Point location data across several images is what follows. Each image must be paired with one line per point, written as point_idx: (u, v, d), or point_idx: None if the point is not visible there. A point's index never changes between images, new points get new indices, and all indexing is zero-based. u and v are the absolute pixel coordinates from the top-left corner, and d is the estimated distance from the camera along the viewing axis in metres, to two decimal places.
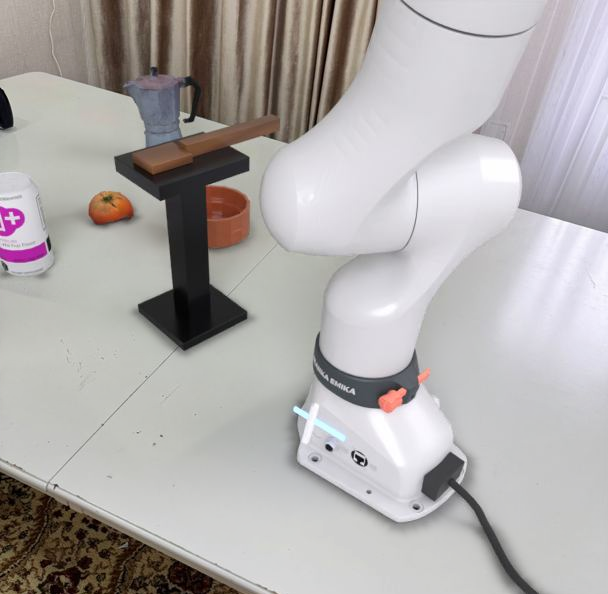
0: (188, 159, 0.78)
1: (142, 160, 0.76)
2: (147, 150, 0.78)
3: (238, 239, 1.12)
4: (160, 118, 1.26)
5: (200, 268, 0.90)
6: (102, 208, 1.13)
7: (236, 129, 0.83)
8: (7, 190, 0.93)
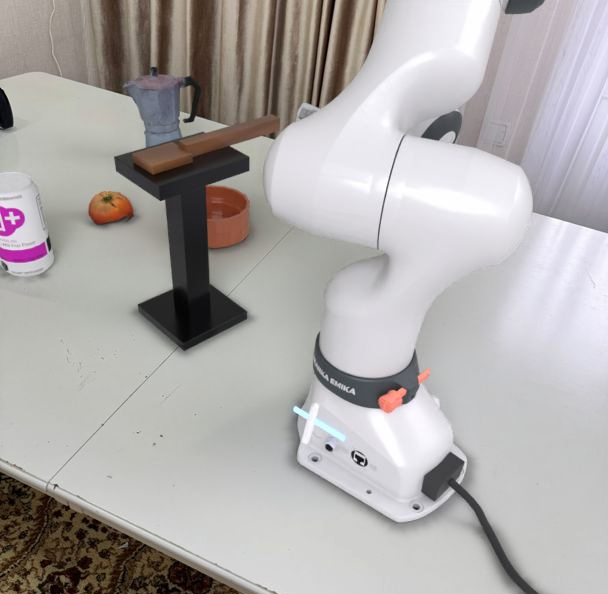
0: (188, 159, 0.78)
1: (142, 160, 0.76)
2: (147, 150, 0.78)
3: (238, 239, 1.12)
4: (160, 118, 1.26)
5: (200, 268, 0.90)
6: (102, 208, 1.13)
7: (236, 129, 0.83)
8: (7, 190, 0.93)
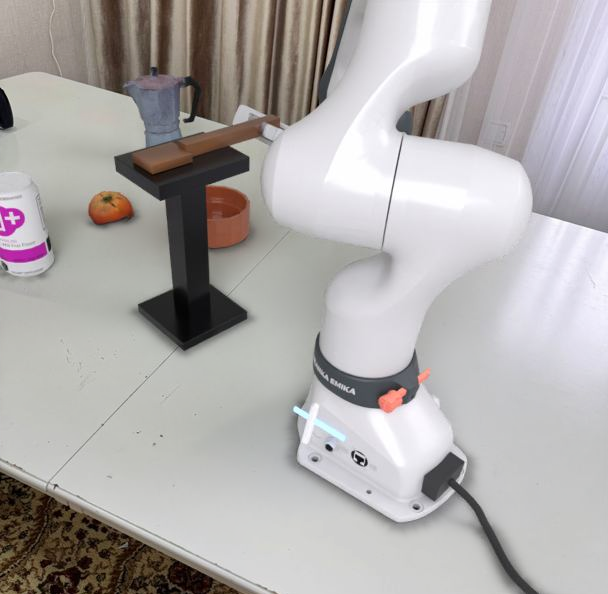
0: (187, 158, 0.78)
1: (142, 160, 0.76)
2: (147, 150, 0.78)
3: (238, 239, 1.12)
4: (160, 118, 1.26)
5: (200, 268, 0.90)
6: (102, 208, 1.13)
7: (236, 129, 0.83)
8: (7, 190, 0.93)
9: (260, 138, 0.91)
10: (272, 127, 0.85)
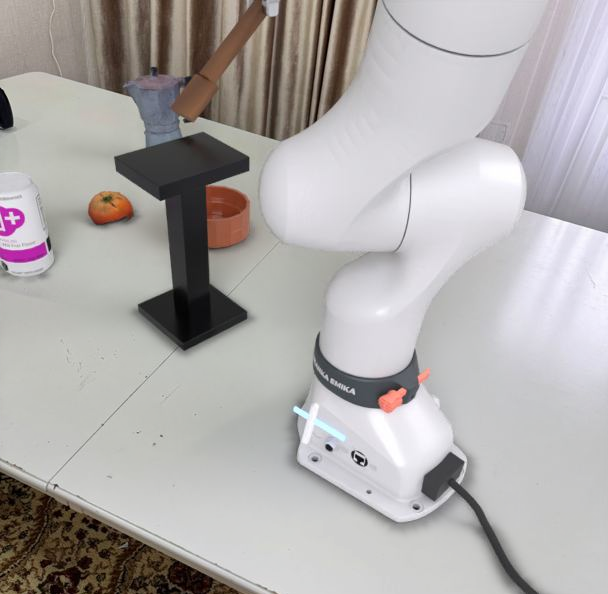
0: (214, 89, 0.85)
1: (180, 113, 0.85)
2: (180, 97, 0.86)
3: (238, 239, 1.12)
4: (160, 118, 1.26)
5: (200, 268, 0.90)
6: (102, 208, 1.13)
7: (242, 27, 0.85)
8: (7, 190, 0.93)
9: None
10: (269, 10, 0.84)
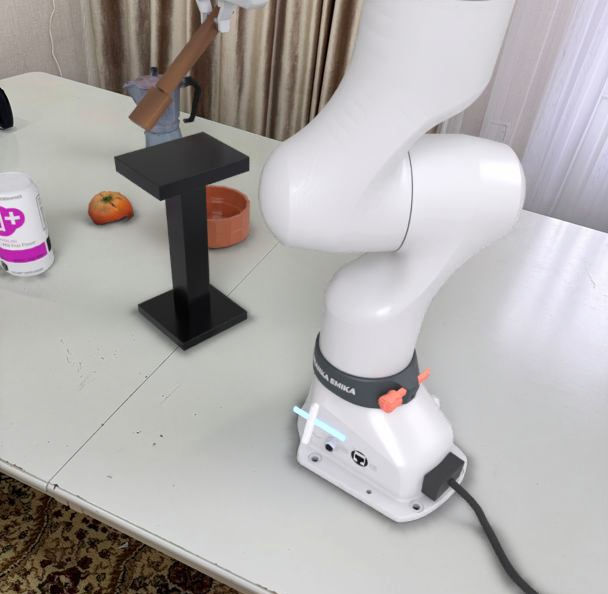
0: (168, 101, 0.91)
1: (137, 123, 0.91)
2: (137, 107, 0.92)
3: (238, 239, 1.12)
4: (160, 118, 1.26)
5: (200, 268, 0.90)
6: (102, 208, 1.13)
7: (195, 42, 0.91)
8: (7, 190, 0.93)
9: None
10: (221, 27, 0.90)
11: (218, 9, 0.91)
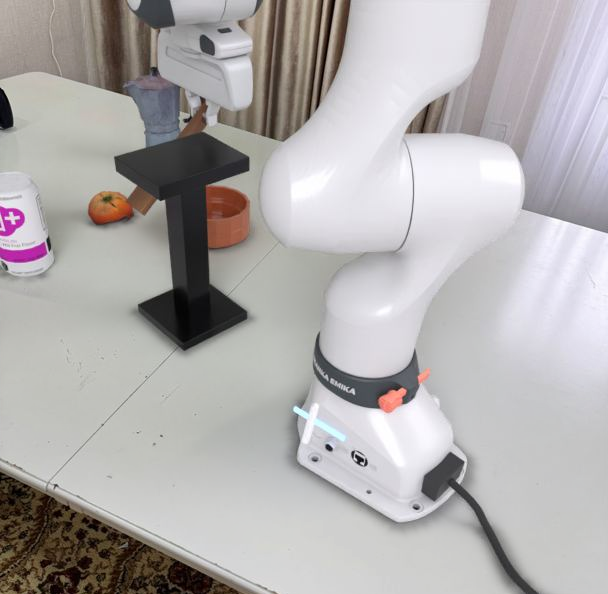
0: None
1: (133, 207, 1.01)
2: (134, 193, 1.02)
3: (238, 239, 1.12)
4: (160, 118, 1.26)
5: (200, 268, 0.90)
6: (102, 208, 1.13)
7: (186, 135, 1.00)
8: (7, 190, 0.93)
9: None
10: (209, 121, 1.00)
11: (206, 105, 1.00)
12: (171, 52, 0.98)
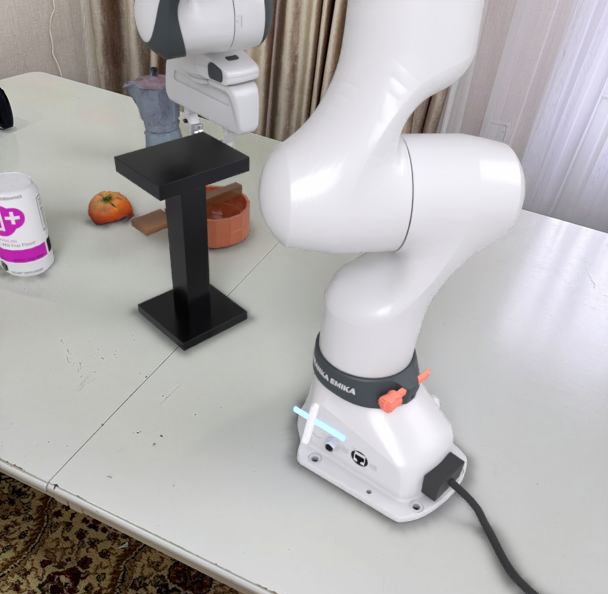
0: None
1: (139, 225, 1.02)
2: (142, 216, 1.04)
3: (238, 239, 1.12)
4: (160, 118, 1.26)
5: (200, 268, 0.90)
6: (102, 208, 1.13)
7: (208, 196, 1.10)
8: (7, 190, 0.93)
9: None
10: None
11: (232, 186, 1.13)
12: (179, 76, 1.01)
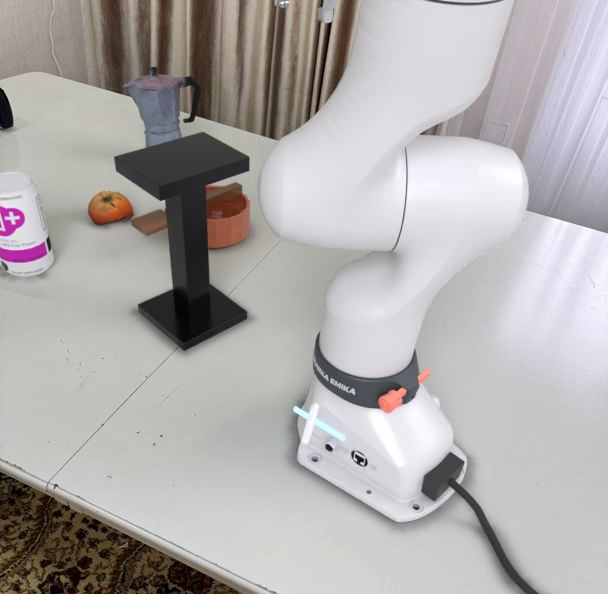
0: None
1: (139, 225, 1.02)
2: (142, 216, 1.04)
3: (238, 239, 1.12)
4: (160, 118, 1.26)
5: (200, 268, 0.90)
6: (102, 208, 1.13)
7: (208, 196, 1.10)
8: (7, 190, 0.93)
9: None
10: (325, 17, 0.90)
11: (232, 186, 1.13)
12: None
